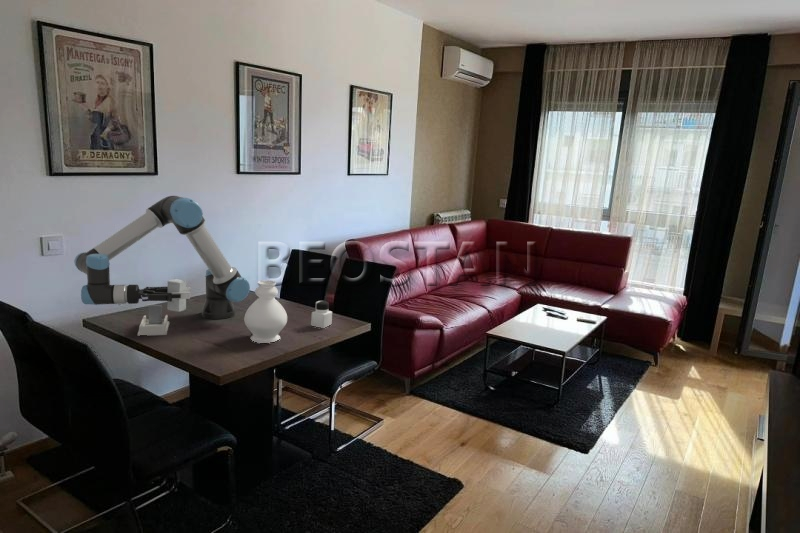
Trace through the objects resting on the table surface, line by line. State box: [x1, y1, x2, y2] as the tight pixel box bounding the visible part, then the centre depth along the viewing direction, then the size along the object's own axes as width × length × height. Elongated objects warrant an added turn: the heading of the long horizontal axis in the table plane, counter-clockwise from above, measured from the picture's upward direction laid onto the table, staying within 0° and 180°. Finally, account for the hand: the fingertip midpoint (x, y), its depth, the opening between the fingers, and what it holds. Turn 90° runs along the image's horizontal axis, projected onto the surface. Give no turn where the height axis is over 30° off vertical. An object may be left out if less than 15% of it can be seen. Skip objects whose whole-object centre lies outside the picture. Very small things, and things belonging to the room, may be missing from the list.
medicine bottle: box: [310, 300, 333, 329], centre depth 250 cm, size 7×7×12 cm
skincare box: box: [166, 278, 187, 313], centre depth 214 cm, size 6×4×12 cm
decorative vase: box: [243, 279, 288, 344], centre depth 226 cm, size 18×18×25 cm
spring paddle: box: [148, 304, 163, 323], centre depth 234 cm, size 5×1×8 cm, turn 109°
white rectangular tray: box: [137, 314, 170, 337], centre depth 230 cm, size 11×16×4 cm
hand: (190, 293), depth 216 cm, fingers closed on skincare box, 7 cm apart
